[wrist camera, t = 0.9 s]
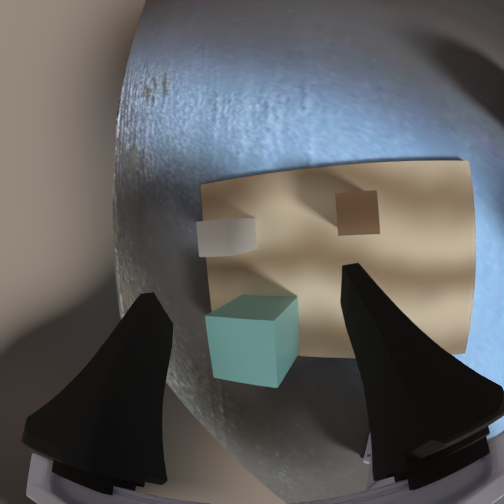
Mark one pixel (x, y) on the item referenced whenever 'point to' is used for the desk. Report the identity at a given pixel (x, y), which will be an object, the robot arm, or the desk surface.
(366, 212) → the walnut post
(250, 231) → the grey post
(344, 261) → the board
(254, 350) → the teal green block
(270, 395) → the desk surface
